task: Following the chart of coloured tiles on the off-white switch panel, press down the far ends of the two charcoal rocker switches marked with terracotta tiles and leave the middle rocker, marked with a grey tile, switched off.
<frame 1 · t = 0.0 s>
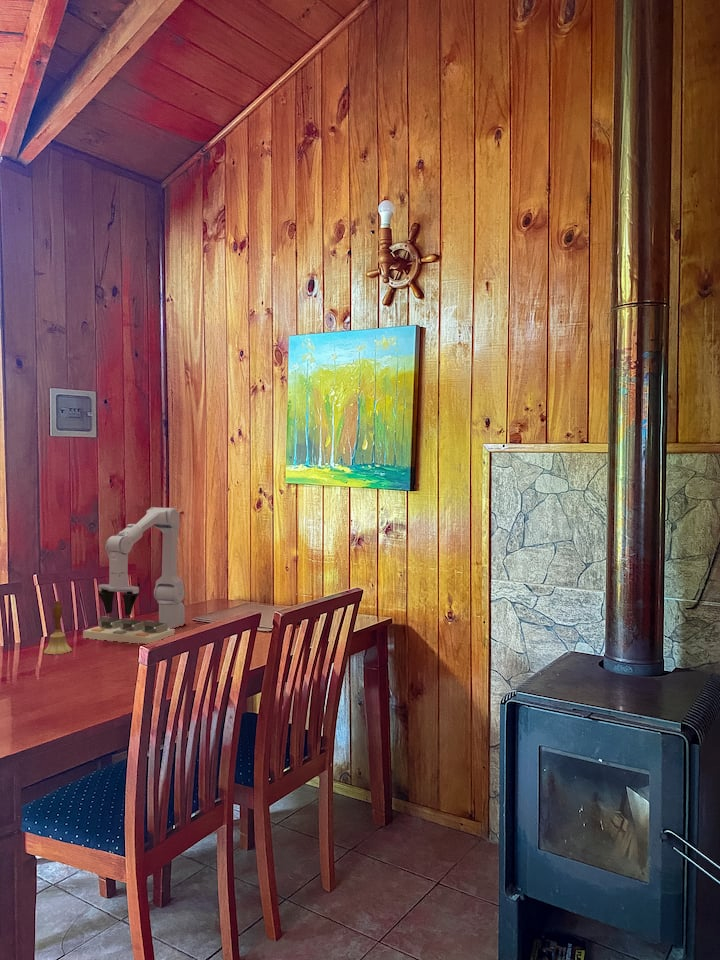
hand: (118, 614, 237), 10 cm above the table, tool pointing down, fingers open, 7 cm apart
rocker 2: (155, 624, 247), point 5 cm above the table, hinge at -16.0°
rocker 1: (111, 620, 253), point 5 cm above the table, hinge at -16.0°
rocker middle: (133, 622, 250), point 5 cm above the table, hinge at -16.0°
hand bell: (57, 652, 228), on the table
switch panel: (129, 637, 248), on the table
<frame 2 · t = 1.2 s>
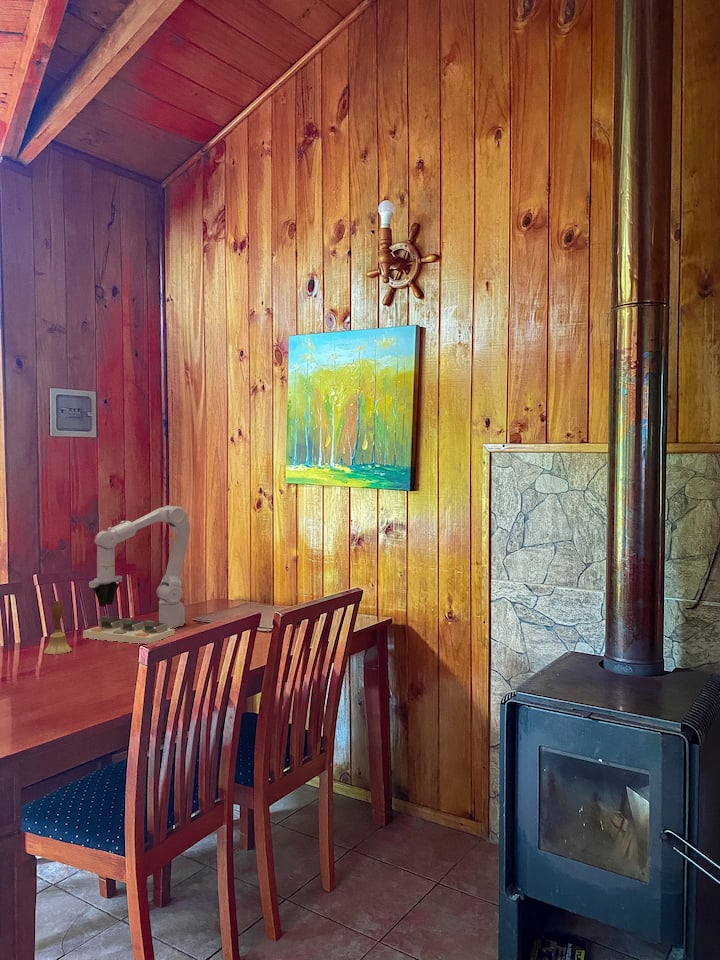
hand: (105, 605, 250), 10 cm above the table, tool pointing down, fingers open, 3 cm apart
nothing on the table moved.
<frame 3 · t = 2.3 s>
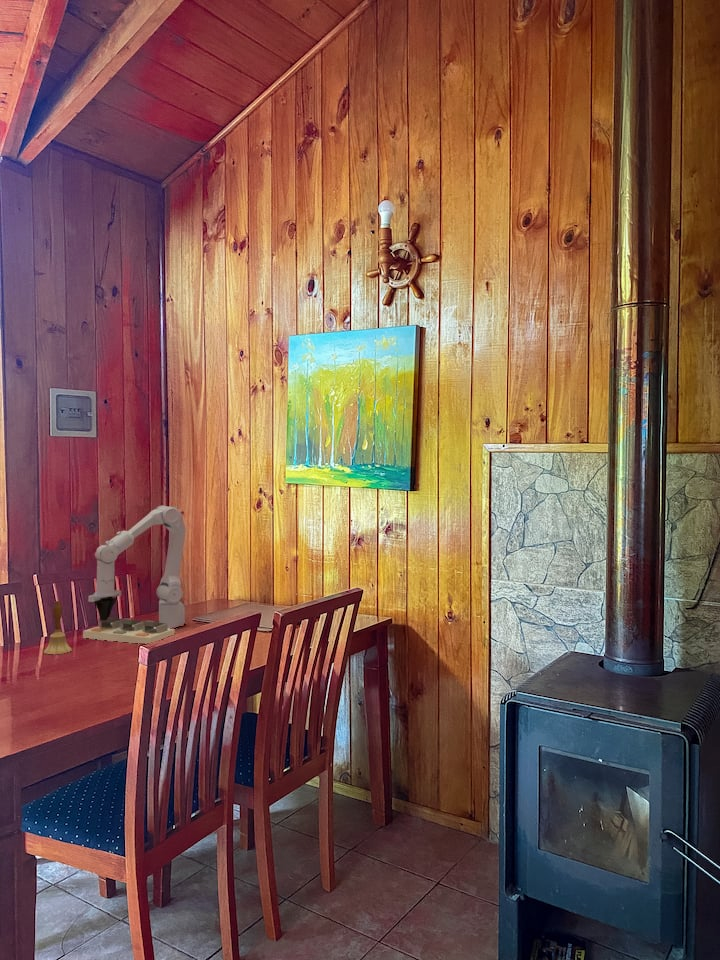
hand: (104, 619, 250), 6 cm above the table, tool pointing down, fingers closed, pressing on rocker 1
rocker 1: (111, 620, 253), point 5 cm above the table, hinge at -14.0°, touching gripper
everything else where it was.
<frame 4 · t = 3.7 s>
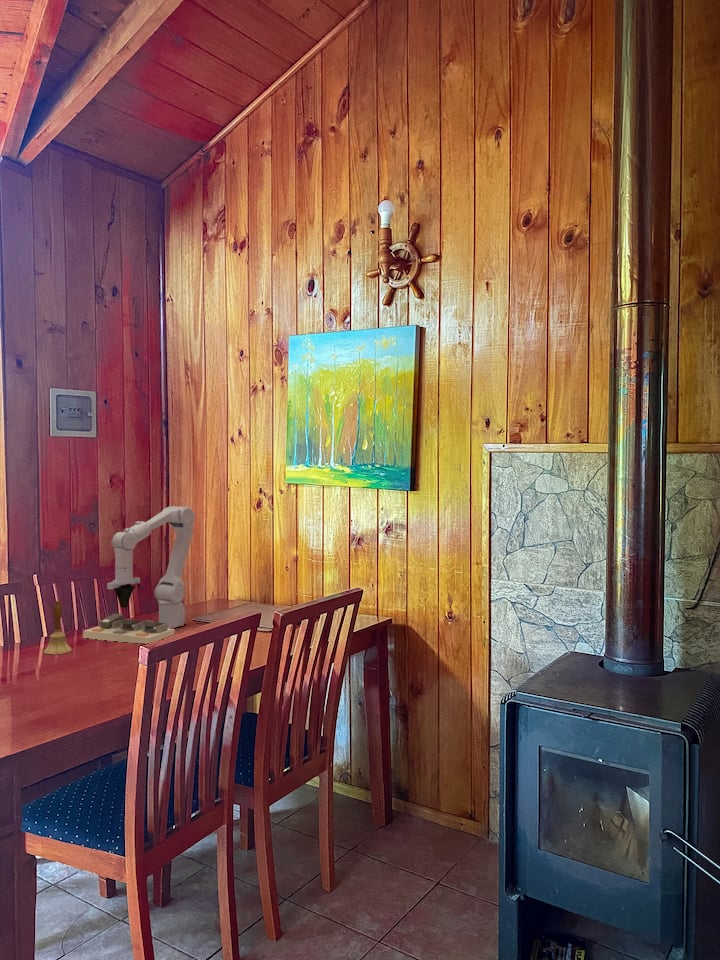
hand: (124, 607, 247), 10 cm above the table, tool pointing down, fingers closed
rocker 1: (111, 620, 253), point 5 cm above the table, hinge at 10.4°
everything else where it was.
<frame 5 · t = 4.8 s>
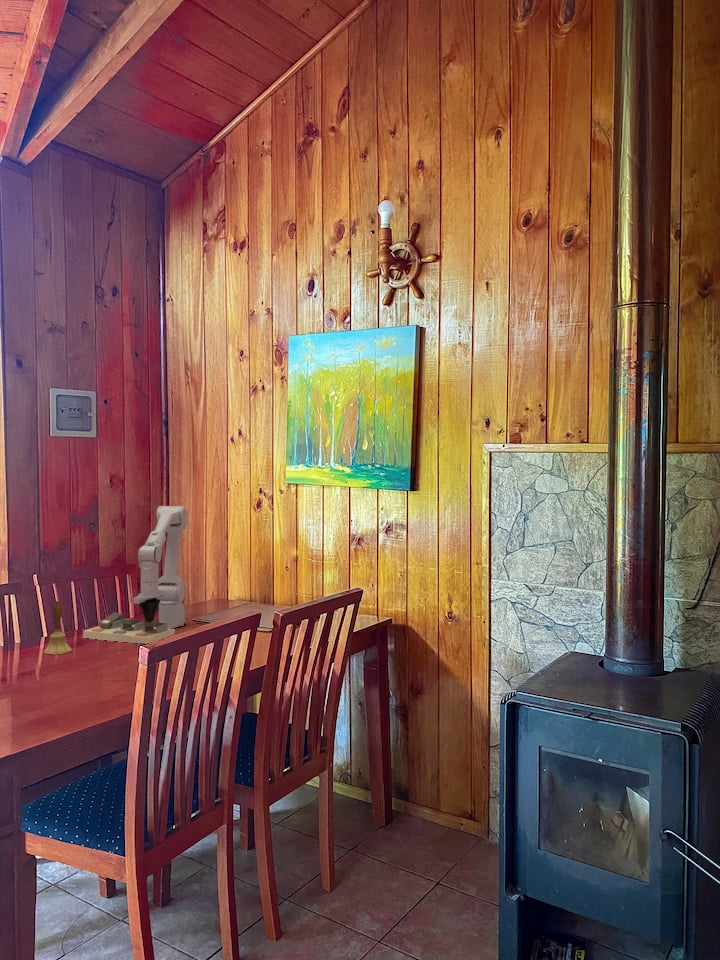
hand: (149, 621, 244), 6 cm above the table, tool pointing down, fingers closed, pressing on rocker 2
rocker 2: (155, 624, 247), point 5 cm above the table, hinge at -16.0°, touching gripper
rocker 1: (111, 620, 253), point 5 cm above the table, hinge at 16.8°
everything else where it was.
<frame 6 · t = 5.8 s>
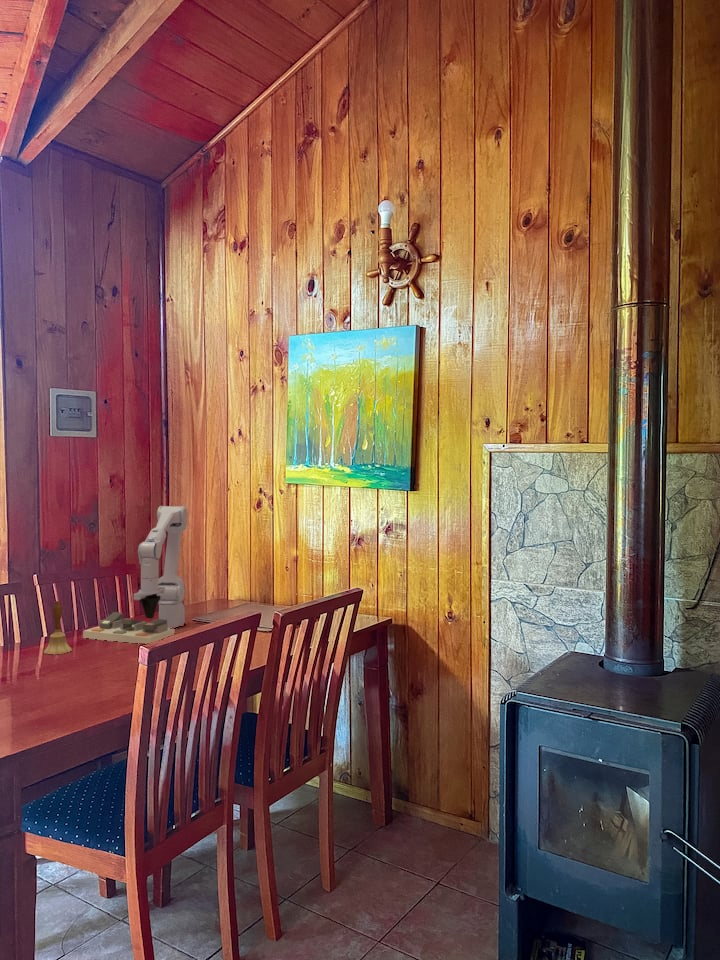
hand: (149, 617, 244), 8 cm above the table, tool pointing down, fingers closed
rocker 2: (155, 624, 247), point 5 cm above the table, hinge at 3.4°
rocker 1: (111, 620, 253), point 5 cm above the table, hinge at 19.5°
everything else where it was.
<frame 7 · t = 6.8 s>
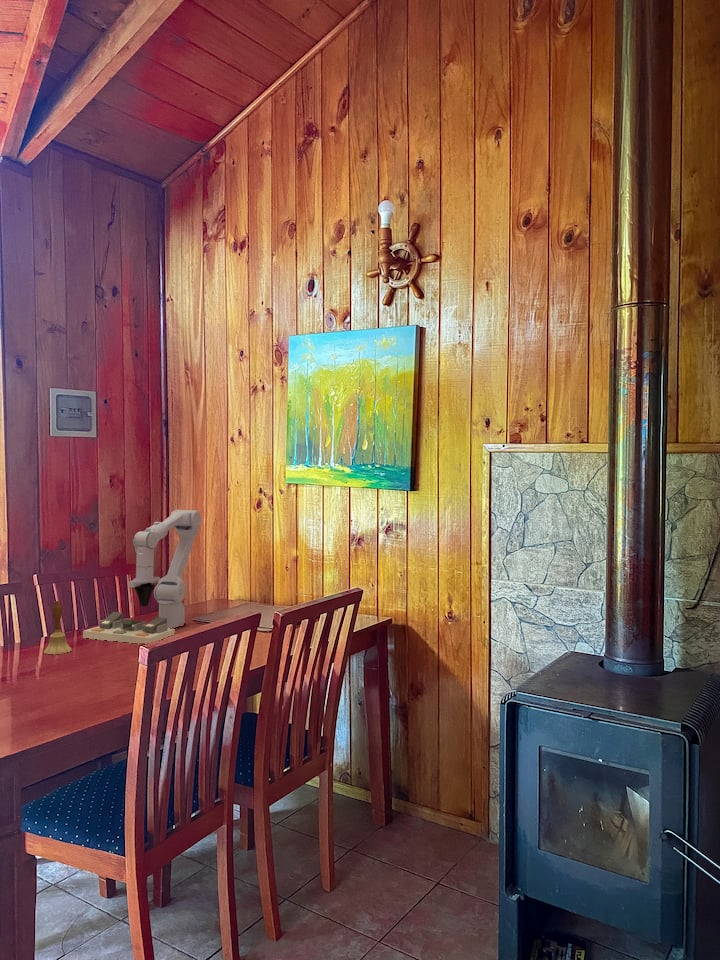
hand: (144, 605, 250), 10 cm above the table, tool pointing down, fingers closed
rocker 2: (155, 624, 247), point 5 cm above the table, hinge at 11.6°
rocker 1: (111, 620, 253), point 5 cm above the table, hinge at 20.7°
everything else where it was.
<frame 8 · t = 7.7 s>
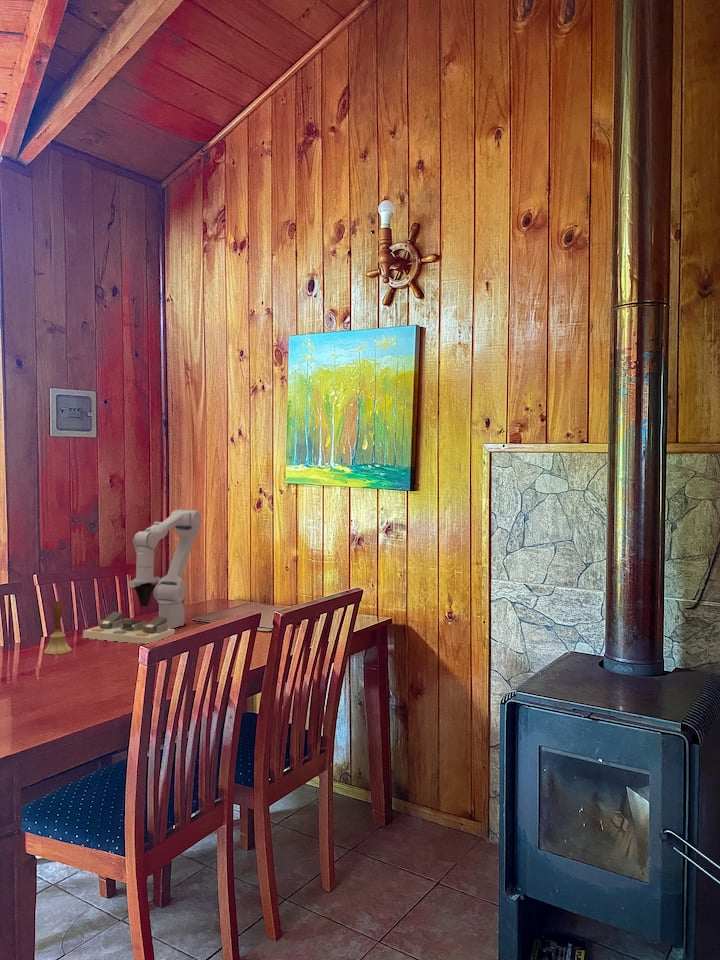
hand: (144, 605, 250), 10 cm above the table, tool pointing down, fingers closed
rocker 2: (155, 624, 247), point 5 cm above the table, hinge at 15.3°
rocker 1: (111, 620, 253), point 5 cm above the table, hinge at 21.3°
everything else where it was.
at the end: rocker 1 at +21° (first picture: -16°); rocker 2 at +16° (first picture: -16°); rocker middle at -16° (first picture: -16°) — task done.
